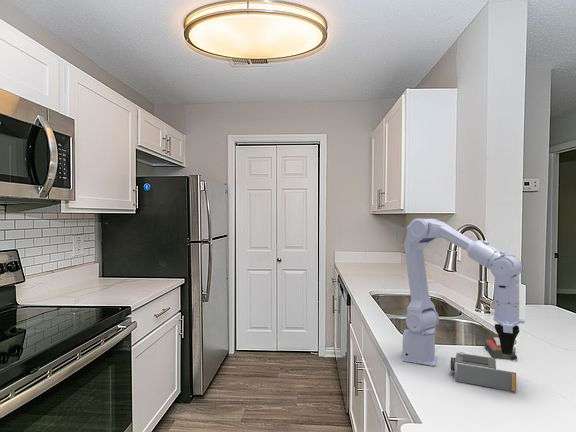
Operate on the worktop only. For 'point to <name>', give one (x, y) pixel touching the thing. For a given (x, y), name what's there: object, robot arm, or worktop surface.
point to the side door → (485, 376)
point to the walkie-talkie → (498, 350)
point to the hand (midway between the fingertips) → (506, 353)
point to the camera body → (473, 361)
